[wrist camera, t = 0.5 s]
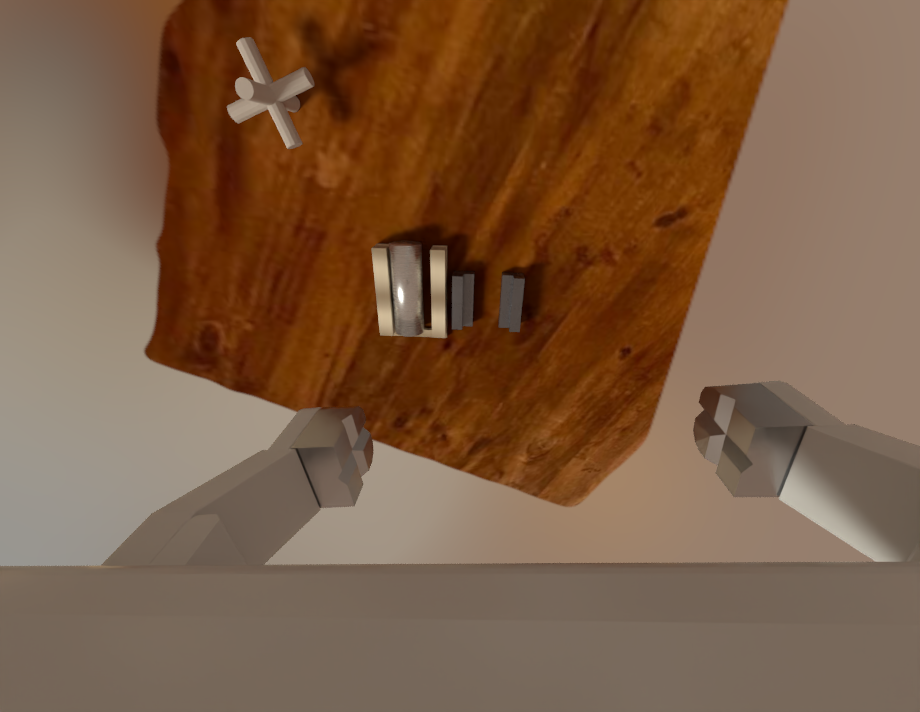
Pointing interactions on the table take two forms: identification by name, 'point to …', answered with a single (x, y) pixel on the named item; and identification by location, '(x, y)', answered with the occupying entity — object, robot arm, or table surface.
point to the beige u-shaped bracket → (386, 294)
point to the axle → (407, 287)
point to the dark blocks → (508, 300)
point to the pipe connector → (269, 93)
